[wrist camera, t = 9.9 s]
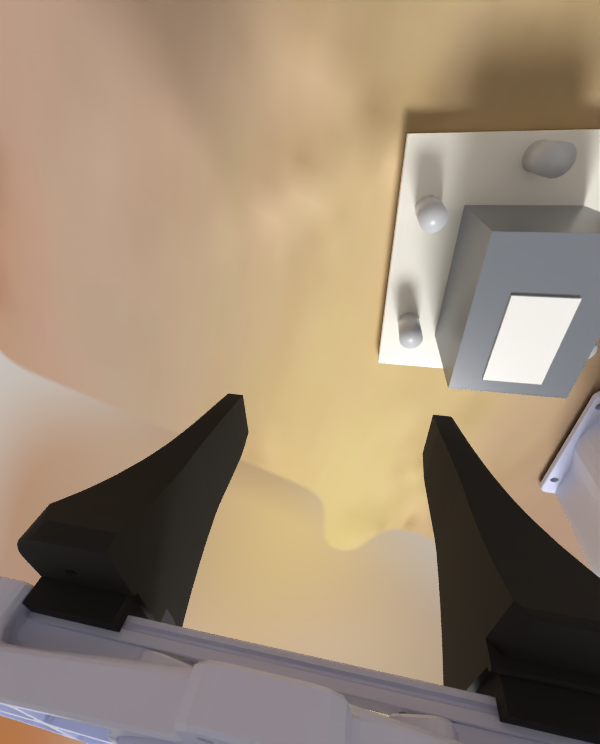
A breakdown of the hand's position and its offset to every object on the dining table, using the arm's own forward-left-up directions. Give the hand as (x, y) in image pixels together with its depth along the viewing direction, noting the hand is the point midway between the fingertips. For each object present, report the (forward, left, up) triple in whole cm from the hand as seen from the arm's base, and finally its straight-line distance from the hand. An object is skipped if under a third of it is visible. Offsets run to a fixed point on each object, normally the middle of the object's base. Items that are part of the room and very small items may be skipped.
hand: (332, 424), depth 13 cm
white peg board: (+3, -8, -10) cm, 13 cm away
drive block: (+3, -8, -9) cm, 12 cm away
